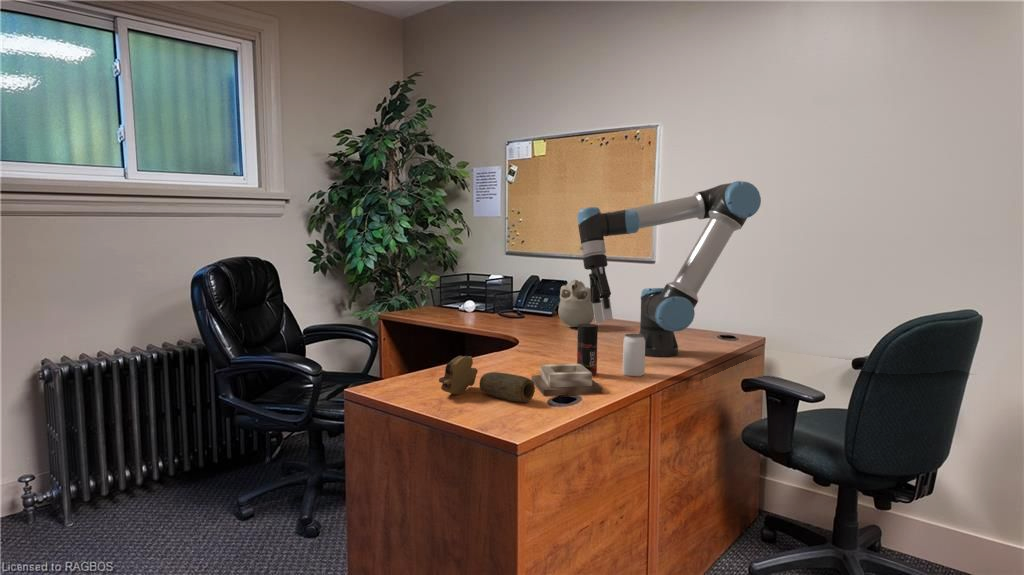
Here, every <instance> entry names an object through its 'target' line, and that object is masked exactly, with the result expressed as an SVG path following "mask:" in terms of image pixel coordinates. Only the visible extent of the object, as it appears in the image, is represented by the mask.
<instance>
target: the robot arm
mask: <svg viewBox="0 0 1024 575" xmlns="http://www.w3.org/2000/svg"><path fill="white" fill-rule="evenodd" d="M761 203H762V198H761V193H760V190H759V189H758V188H757V187H756V186H755V184H752V183H750V182H748V181H742V180H736V181H733V182H729V183H724V184H718V185H716V186H714V187H711V188H708V189H705V190H700V191H696V192H694V193H693V195H692V196H685V197H681V198H676V199H671V200H666V201H659V202H656V203H655V202H654V203H651V204H646V205H642V206H640V205H639V206H637V207H630V208H627V209H626V208H624V209H621V210H620V209H619V210H615V211H611V212H610V211H609V212H601V210H600V208H599V207H595V206H594V207H593V206H592V207H585V208H582V209H580V210H578V212H577V213H576V214H577V216H576V217H577V226H578V232H579V233H578V234H579V238H580V239H579V240H580V244H581V245H580V246H581V247H579V250H580V251H582V252H581V253H582V257H583V259H582V261H583V268H584V269H585V270H590V271H591V272H590V273H589V274H588V277H589V285H590V286H589V288H590V292H591V302H592V303H593V309H594V321H595V323H594V324H601V323H605V321H608V320H614V319H613V318H614V317H613V312H612V303H611V294H612V292H611V289H610V285H609V280H608V277H607V274H606V273H607V272H606V267H607V266H608V259H607V254H606V253H607V250H606V249H607V248H606V243H605V238H604V237H609V236H619V235H620V236H621V235H631V234H636V233H637V232H638V231H639V230H640V229H644V228H650V227H655V226H660V225H661V226H662V225H665V224H670V223H675V222H676V223H677V222H681V221H686V220H690V219H698V220H705V219H709V220H708V221H707V223H706V224H705V227H704V228H703V231H701V234H700V235H699V237H698V239H697V240H696V242H695V243H694V246H693V247H692V249H691V250H690V253H689V254H688V256H687V257H686V260H685V261H684V263H683V264H682V266H681V268H680V270H679V271H678V273H677V275H676V276H675V278H674V279H673V281H671V282H668V283H666V284H665V286H664V287H651V288H648V287H647V288H643V289H642V291H641V295H640V326H639V327H640V328H639V329H640V330H639V332H638V334H641V335H644V339H645V356H647V355H648V357H649V356H650V357H659V356H665V357H672V356H671V355H675V356H677V355H679V345H678V341H677V338H676V335H675V332H680V331H684V330H685V329H687V328H688V327H690V326H691V324H692V323H693V321H694V318H695V308H696V306H697V304H698V302H699V298H698V294H699V291H700V290H701V288H702V286H703V285H704V283H705V281H706V279H707V278H708V276H709V274H710V273H711V271H712V269H713V267H714V266H715V264H716V263H717V261H718V259H719V257H720V256H721V254H722V252H723V250H724V248H725V247H726V246H727V243H729V240H730V239H731V237H732V235H733V234H734V232H736V231H739V230H741V229H742V228H743V226H744V224H745V223H746V221H747V219H748V218H751V217H753V216H754V215H755V214H757V212H758V211H759V209H760V207H761V205H762V204H761ZM676 354H677V355H676Z"/></svg>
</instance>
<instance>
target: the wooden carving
mask: <svg viewBox="0 0 1024 575" xmlns="http://www.w3.org/2000/svg"><path fill="white" fill-rule="evenodd" d="M473 363H474V361H473V357H472V356H469V355H464V356H463V355H458V356H456V357H454V358H452V360H450V361H449V362H447V364H446V365H445V369H444V375H443V376H442V377H440V378H439V379H438V382H439V383H441V384H442V385H441V387H440V389H441V390H442V391H443V392H446V393H450V394H452V395H455V396H457V395H461V394H462V392H463V393H464V392H465V391H466V390H467V388H469V386H470V387H472V386H474V384H475V382H476V377H477V374H478V369H477V368H476V367H473ZM460 393H461V394H460Z"/></svg>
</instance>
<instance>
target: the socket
mask: <svg viewBox="0 0 1024 575" xmlns="http://www.w3.org/2000/svg"><path fill="white" fill-rule="evenodd" d="M531 380H532V381H533V383H534V386H535V385H536V386H535V387H536V388H537V389H538V391H540V393H541V394H542V395H543V396H544V397H545V396H546V397H547V396H568V395H567V394H572V395H592V394H593V395H595V394H603V386H601V385H600V384H598V383H597V382H596V381H595V380H594V379H593V377H592V373H591V372H590V371H589V370H587V369H586V368H585V367H584V366H582V365H581V364H577V363H565V364H564V363H561V364H559V363H558V364H557V363H556V364H540V374H538V375H537V374H536V375H533V374H531Z"/></svg>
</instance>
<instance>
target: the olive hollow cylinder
mask: <svg viewBox="0 0 1024 575" xmlns="http://www.w3.org/2000/svg"><path fill="white" fill-rule="evenodd" d="M535 387H536V386H535V384H534V383H533V381H532V378H531V379H530V378H528V377H525V376H522V375H517V374H512V373H505V372H498V371H492V372H491V371H490V372H487V373H484V374H483V375H481V377H480V379H479V389H480V391H481V392H483V393H484V394H487V395H489V396H492V397H495V398H499V399H503V400H508V401H512V402H518V403H528V402H530V401H531V400H532V398H533V396H534V395H535V392H536V388H535Z"/></svg>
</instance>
